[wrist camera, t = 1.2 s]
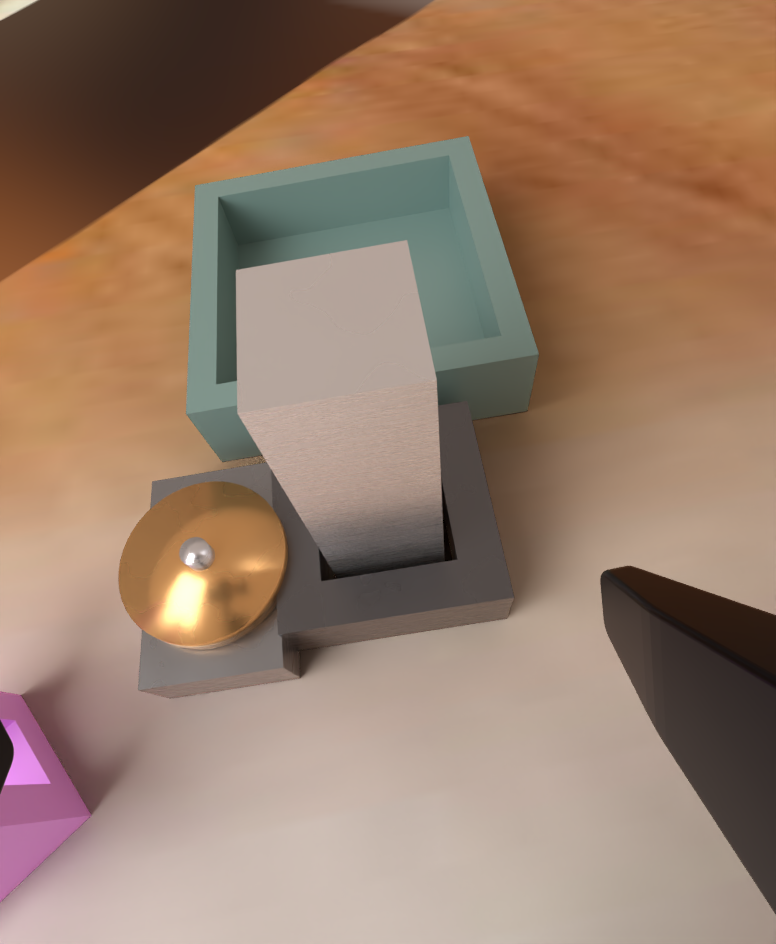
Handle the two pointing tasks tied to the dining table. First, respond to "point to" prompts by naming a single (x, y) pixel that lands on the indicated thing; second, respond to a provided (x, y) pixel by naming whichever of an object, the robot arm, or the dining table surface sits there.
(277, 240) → the tray
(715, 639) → the robot arm
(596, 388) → the dining table surface
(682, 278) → the dining table surface
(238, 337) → the pin
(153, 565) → the tensioner bracket
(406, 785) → the dining table surface
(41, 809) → the bracket
